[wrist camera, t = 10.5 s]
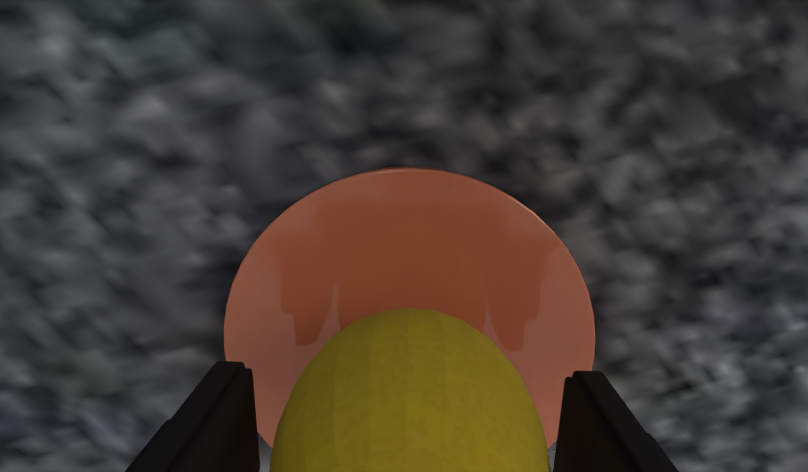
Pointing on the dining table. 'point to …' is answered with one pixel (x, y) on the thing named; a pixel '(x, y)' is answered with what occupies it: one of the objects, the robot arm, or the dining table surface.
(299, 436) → the lemon
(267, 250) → the terracotta coaster
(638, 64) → the dining table surface
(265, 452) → the dining table surface
